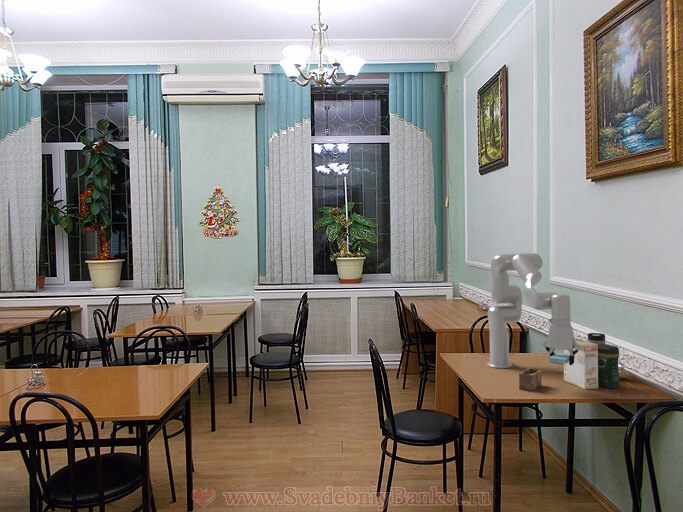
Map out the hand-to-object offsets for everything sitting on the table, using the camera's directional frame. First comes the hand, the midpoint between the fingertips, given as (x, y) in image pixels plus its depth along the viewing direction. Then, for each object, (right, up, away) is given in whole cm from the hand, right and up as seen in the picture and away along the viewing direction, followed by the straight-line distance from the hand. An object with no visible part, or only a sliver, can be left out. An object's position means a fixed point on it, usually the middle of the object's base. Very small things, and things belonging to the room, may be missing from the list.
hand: (561, 363), depth 216 cm
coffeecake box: (+12, -12, +9) cm, 19 cm away
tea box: (-12, -12, +5) cm, 17 cm away
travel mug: (+27, -11, +22) cm, 37 cm away
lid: (0, +1, 0) cm, 1 cm away
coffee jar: (+22, -12, +5) cm, 26 cm away
